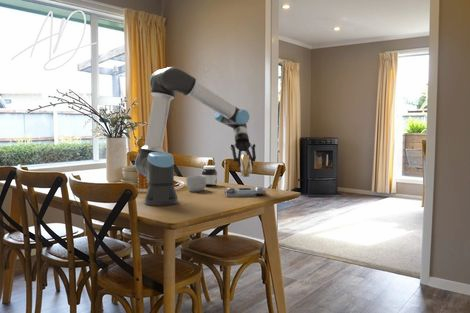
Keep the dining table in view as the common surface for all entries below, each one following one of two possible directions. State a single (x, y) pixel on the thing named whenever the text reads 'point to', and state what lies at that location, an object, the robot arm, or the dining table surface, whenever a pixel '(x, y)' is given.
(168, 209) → the dining table surface
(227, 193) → the link
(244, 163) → the pin
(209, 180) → the spread jar
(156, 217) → the dining table surface
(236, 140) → the robot arm
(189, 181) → the teacup
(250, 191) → the link
